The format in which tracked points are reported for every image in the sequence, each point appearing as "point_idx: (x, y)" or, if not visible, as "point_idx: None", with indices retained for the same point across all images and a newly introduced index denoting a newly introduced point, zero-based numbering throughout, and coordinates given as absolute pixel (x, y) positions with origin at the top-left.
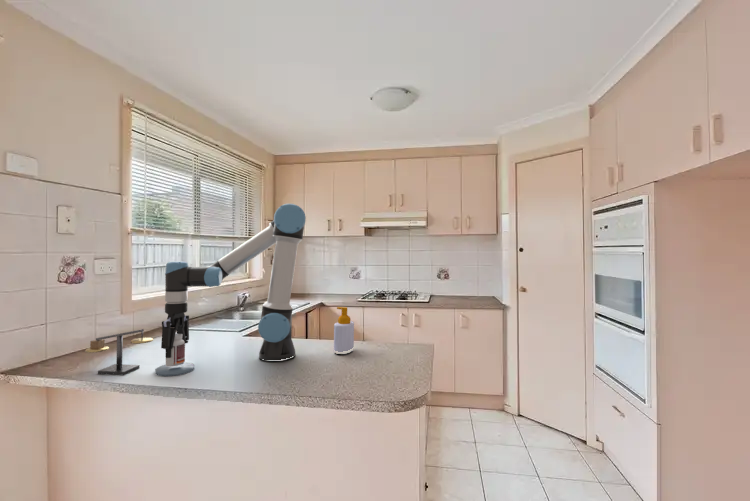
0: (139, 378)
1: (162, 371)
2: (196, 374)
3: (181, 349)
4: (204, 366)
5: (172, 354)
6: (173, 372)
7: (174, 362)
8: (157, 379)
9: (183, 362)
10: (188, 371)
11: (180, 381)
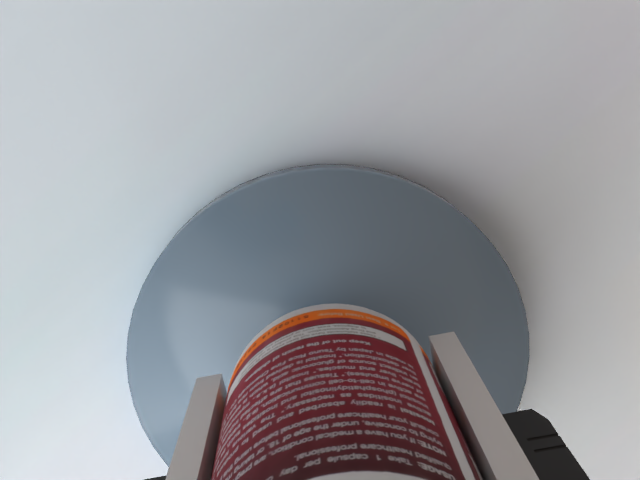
0: (609, 475)
1: (487, 387)
2: (374, 24)
3: (368, 412)
4: (85, 152)
5: (504, 423)
6: (491, 255)
7: (426, 355)
8: (609, 308)
9: (306, 309)
10: (348, 167)
11: (630, 27)
